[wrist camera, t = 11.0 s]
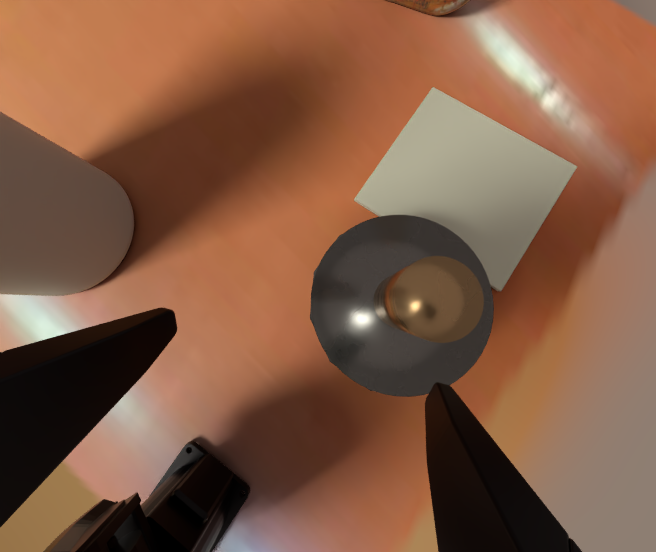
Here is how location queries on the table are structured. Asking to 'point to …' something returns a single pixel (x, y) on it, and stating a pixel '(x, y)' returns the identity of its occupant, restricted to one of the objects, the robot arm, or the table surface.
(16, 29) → the table surface
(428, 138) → the mat
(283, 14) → the table surface
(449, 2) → the tin
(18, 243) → the cylinder vase
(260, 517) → the table surface
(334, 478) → the table surface
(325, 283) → the cloche
